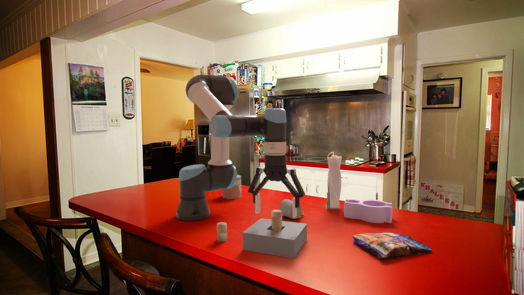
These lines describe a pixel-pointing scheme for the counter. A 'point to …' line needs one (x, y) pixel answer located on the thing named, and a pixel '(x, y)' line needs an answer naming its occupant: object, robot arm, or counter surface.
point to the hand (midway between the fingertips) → (275, 214)
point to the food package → (390, 244)
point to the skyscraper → (334, 182)
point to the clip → (368, 210)
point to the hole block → (275, 238)
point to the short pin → (221, 231)
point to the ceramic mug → (289, 209)
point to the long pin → (276, 220)
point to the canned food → (233, 190)
